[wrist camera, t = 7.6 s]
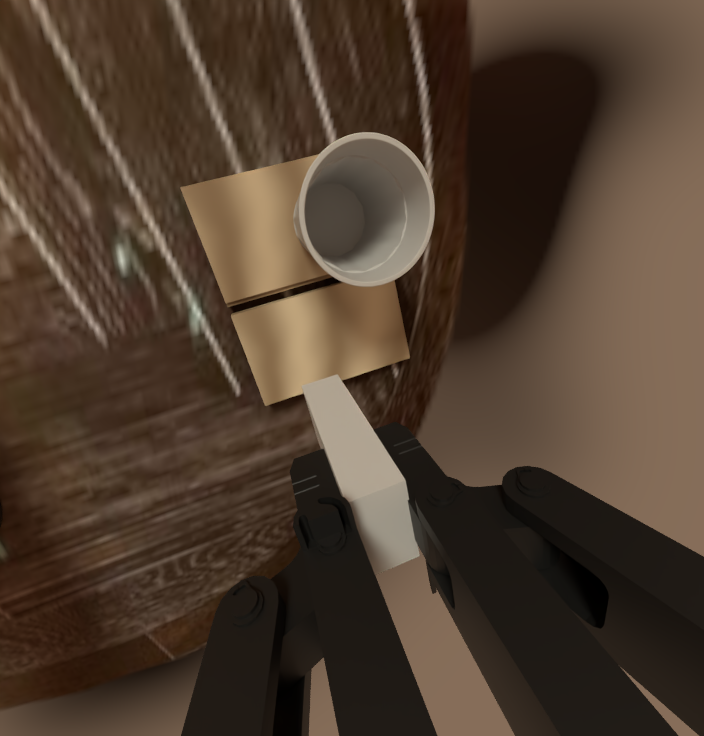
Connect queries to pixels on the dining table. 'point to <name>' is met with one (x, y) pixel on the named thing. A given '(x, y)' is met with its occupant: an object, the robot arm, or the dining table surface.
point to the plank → (321, 336)
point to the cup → (365, 209)
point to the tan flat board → (254, 231)
